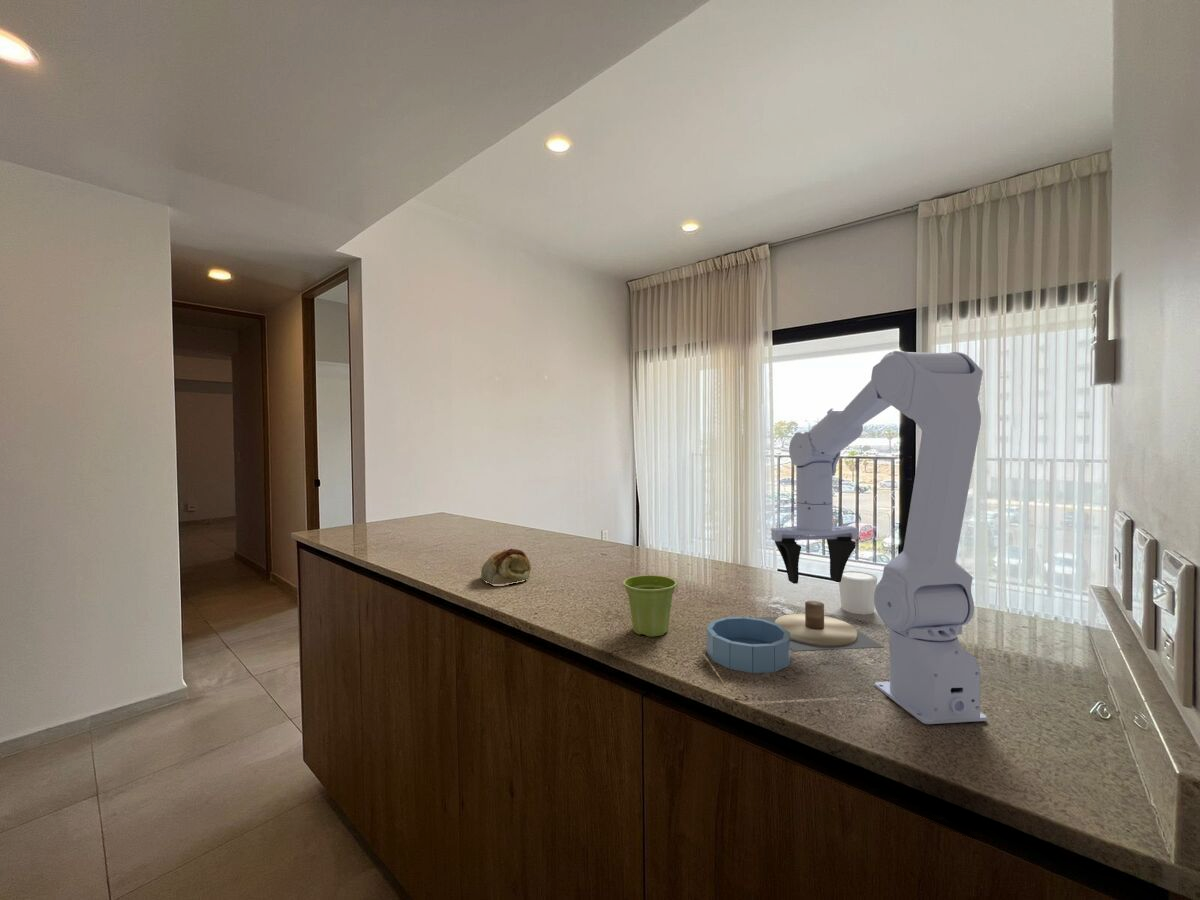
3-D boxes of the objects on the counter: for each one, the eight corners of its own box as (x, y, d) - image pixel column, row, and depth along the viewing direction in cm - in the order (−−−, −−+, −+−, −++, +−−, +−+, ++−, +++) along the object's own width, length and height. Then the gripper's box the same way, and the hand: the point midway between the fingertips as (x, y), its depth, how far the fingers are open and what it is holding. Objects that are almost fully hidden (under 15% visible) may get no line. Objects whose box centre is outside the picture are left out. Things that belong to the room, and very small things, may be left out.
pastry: (511, 590, 114) (510, 555, 114) (467, 584, 119) (467, 550, 119) (543, 575, 126) (543, 543, 126) (503, 570, 132) (503, 540, 132)
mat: (884, 648, 79) (884, 646, 79) (793, 652, 78) (793, 650, 78) (832, 616, 94) (832, 614, 94) (755, 619, 93) (755, 617, 93)
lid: (874, 644, 80) (874, 614, 80) (796, 648, 79) (796, 618, 79) (830, 616, 93) (830, 590, 93) (762, 619, 92) (762, 593, 92)
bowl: (804, 672, 71) (804, 644, 71) (722, 676, 70) (722, 647, 70) (769, 639, 83) (769, 615, 83) (698, 642, 82) (698, 618, 82)
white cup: (882, 617, 93) (882, 580, 93) (843, 615, 95) (843, 578, 95) (870, 606, 100) (870, 571, 100) (833, 604, 101) (833, 569, 101)
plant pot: (634, 644, 82) (633, 591, 82) (616, 624, 91) (616, 577, 91) (686, 637, 85) (685, 586, 84) (664, 619, 94) (664, 573, 94)
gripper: (841, 499, 90) (841, 574, 91) (763, 500, 89) (764, 576, 89) (865, 504, 83) (865, 584, 84) (781, 505, 82) (781, 587, 82)
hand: (814, 581), depth 86 cm, fingers open, 7 cm apart
